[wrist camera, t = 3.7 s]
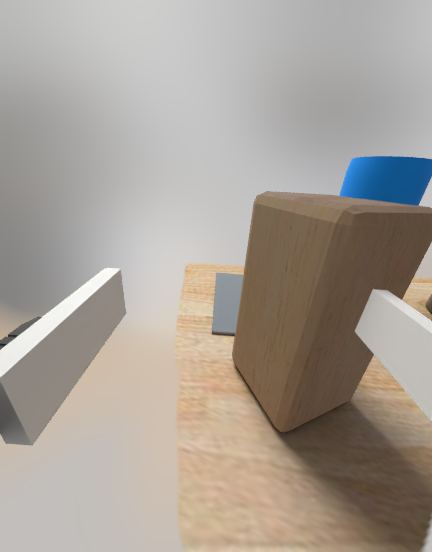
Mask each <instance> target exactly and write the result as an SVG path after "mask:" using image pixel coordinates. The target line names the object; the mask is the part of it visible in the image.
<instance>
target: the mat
mask: <svg viewBox="0 0 432 552" xmlns="http://www.w3.org/2000/svg"><path fill="white" fill-rule="evenodd" d="M242 282H243V275H239V274H227V273H216V285H215V298H214V311H213V324H212V333H215V334H227V335H235V331H236V324H237V317H238V310H239V303H240V296H241V289H242Z"/></svg>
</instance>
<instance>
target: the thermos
mask: <svg viewBox="0 0 432 552" xmlns="http://www.w3.org/2000/svg"><path fill="white" fill-rule="evenodd" d="M431 176H432V159H425V158H414V157H392V156H389V157H385V156H380V157H379V156H378V157H377V156H376V157H359V158H353V159H352V160H351V162H350V165H349V167H348V169H347V172H346V175H345V179H344V182H343V185H342V189H341V192H340V195H339V196H343V197H351V198H359V199H367V200H375V201H383V202H391V203H399V204H407V205H415V206H418V205H419V203H420V201H421V199H422V196H423V194H424V192H425V190H426V188H427V185H428V183H429V181H430V179H431Z"/></svg>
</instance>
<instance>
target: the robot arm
mask: <svg viewBox="0 0 432 552" xmlns="http://www.w3.org/2000/svg"><path fill="white" fill-rule="evenodd" d="M426 308H427V309H428V310H429V311H430V312H431V313H432V295H431V296H430V298H429V299H428V301H427V303H426ZM125 314H126V309H125V301H124V293H123V285H122V277H121V270H120V269H114V268H105V269H104V270H102V271H101V272H100V273H98V274H97V275H96V276H95V277H93V278H92V279H91V280H89V281H88V282H87V283H86V284H84V285H83V286H82V287H80V288H79V289H78V290H77V291H75V292H74V293H73V294H72V295H70V296H69V297H68V298H66V299H65V300H64V301H63V302H61V303H60V304H59V305H57V306H56V307H55V308H53V309H52V310H51V311H50V312H48V313H47V314H46V315H44V316H43V317H37V318H35V319H33V320H31V321H29V322H26V323H24V324H22V325H21V326H19V327H18V328H17V329H15V330H14V331H13V332H11V333H10V334H8V337H4V338H3V339H2V340H0V434H1V436H2V438H3V439H4V441H5V443H7V444H20V445H33V444H34V442H35V441H36V439H37V438H38V437H39V435H40V434H41V433H42V431H43V429H44V428H45V427H46V425H47V424H48V423H49V421H50V420H51V418H52V417H53V416H54V414H55V413H56V411H57V410H58V409H59V407H60V406H61V404H62V403H63V401H64V400H65V399H66V397H67V396H68V394H69V393H70V391H71V390H72V389H73V387H74V386H75V385H76V383H77V382H78V380H79V379H80V378H81V376H82V375H83V373H84V372H85V370H86V369H87V368H88V366H89V365H90V363H91V362H92V360H93V359H94V358H95V356H96V355H97V354H98V352H99V351H100V349H101V348H102V346H103V345H104V344H105V342H106V341H107V339H108V338H109V337H110V335H111V334H112V332H113V331H114V330H115V328H116V327H117V325H118V324H119V323H120V321H121V320H122V318H123V317H124V315H125ZM355 333H356V334H357V335H358V336H359V337H360V338H361V340H362V341H363V342H364V343H365V344H366V346H367V347H368V348H369V349H370V350H371V351H372V353H373V354H374V355H375V356H376V357H377V358H378V360H379V361H380V362H381V363H382V364H383V365H384V367H385V368H386V369H387V370H388V371H389V373H390V374H391V375H392V376H393V377H394V378H395V380H396V381H397V382H398V383H399V384H400V385H401V387H402V388H403V389H404V390H405V391H406V393H407V394H408V395H409V396H410V397H411V398H412V400H413V401H414V402H415V403H416V404H417V405H418V407H419V408H420V409H421V410H422V411H423V413H424V414H425V415H426V416H427V417H428V418H429V420H430V421H431V422H432V321H431V320H430V319H428V318H427V317H425V316H424V315H422V314H421V313H420V312H418V311H417V310H415V309H414V308H412V307H411V306H409V305H408V304H406V303H405V302H404V301H402V300H401V299H399V298H398V297H396V296H395V295H393V294H392V293H391V292H389V291H388V290H376V289H373V290H372V293H371V295H370V297H369V299H368V302H367V304H366V306H365V309H364V311H363V313H362V316H361V318H360V320H359V322H358V325H357V327H356V329H355Z"/></svg>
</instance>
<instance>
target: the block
mask: <svg viewBox="0 0 432 552" xmlns="http://www.w3.org/2000/svg"><path fill="white" fill-rule="evenodd" d="M431 242H432V208H430V207H423V206H415V205H407V204H399V203H391V202H383V201H375V200H367V199H359V198H351V197H343V196H334V195H319V194H304V193H287V192H270V191H267V192H265V193H262V194H261V195H257V197H256V199H255V201H254V205H253V212H252V219H251V226H250V233H249V241H248V247H247V255H246V261H245V268H244V275H243V282H242V289H241V296H240V303H239V310H238V317H237V324H236V331H235V338H234V345H233V352H232V357H233V361H234V363H235V365H236V366H237V368H238V370H239V371H240V373H241V374H242V376H243V377H244V379H245V381H246V382H247V384H248V385H249V387H250V388H251V390H252V392H253V393H254V395H255V396H256V398H257V400H258V401H259V403H260V404H261V406H262V407H263V409H264V411H265V412H266V414H267V415H268V417H269V418H270V420H271V422H272V423H273V425H274V426H275V428H276V429H278V430H279V431H280V432H288V431H290V430H292V429H294V428H296V427H298V426H300V425H302V424H304V423H306V422H308V421H310V420H312V419H314V418H316V417H318V416H320V415H322V414H324V413H326V412H328V411H330V410H332V409H334V408H336V407H338V406H340V405H342V404H344V403H346V402H348V401H350V400H351V398H352V396H353V394H354V392H355V390H356V388H357V386H358V384H359V382H360V380H361V378H362V376H363V375H364V373H365V371H366V369H367V367H368V365H369V363H370V361H371V359H372V357H373V355H374V354H373V353H372V351H371V350H370V349H369V348H368V347H367V346H366V344H365V343H364V342H363V341H362V340H361V338H360V337H359V336H358V335H357V334H356V333H355V329H356V327H357V325H358V322H359V320H360V318H361V316H362V313H363V311H364V309H365V306H366V304H367V302H368V299H369V297H370V295H371V293H372V290H373V289H376V290H388V291H389V292H391V293H392V294H393V295H395V296H396V297H398V298H399V299H401V300H402V298H403V296H404V294H405V293H406V291H407V289H408V287H409V285H410V283H411V281H412V279H413V277H414V275H415V273H416V271H417V269H418V267H419V265H420V263H421V261H422V259H423V257H424V255H425V253H426V252H427V250H428V248H429V246H430V244H431Z"/></svg>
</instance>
